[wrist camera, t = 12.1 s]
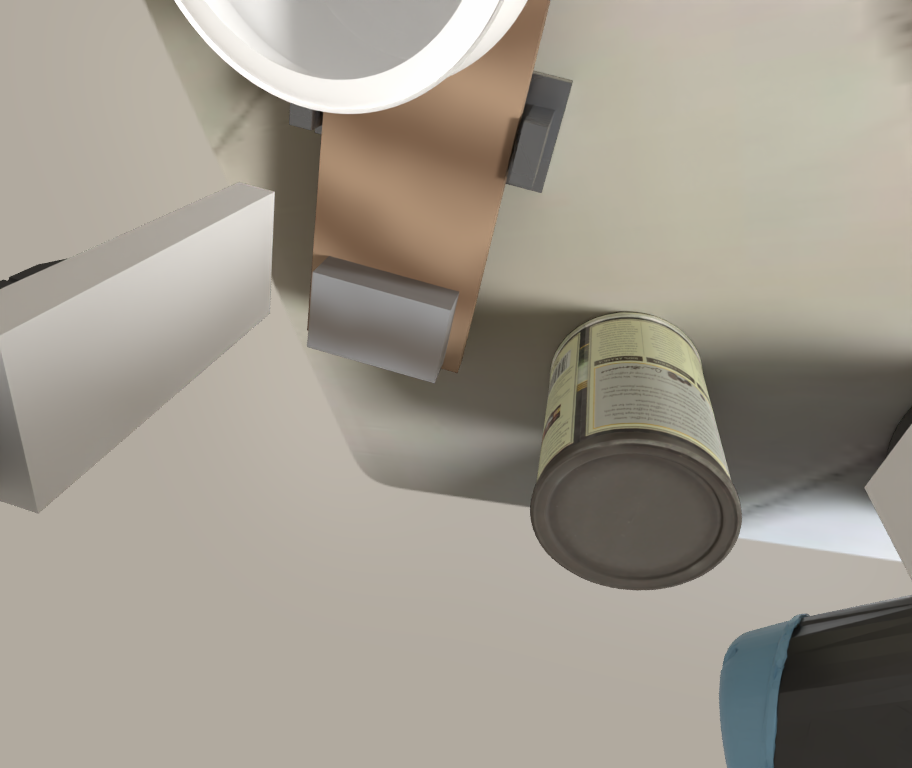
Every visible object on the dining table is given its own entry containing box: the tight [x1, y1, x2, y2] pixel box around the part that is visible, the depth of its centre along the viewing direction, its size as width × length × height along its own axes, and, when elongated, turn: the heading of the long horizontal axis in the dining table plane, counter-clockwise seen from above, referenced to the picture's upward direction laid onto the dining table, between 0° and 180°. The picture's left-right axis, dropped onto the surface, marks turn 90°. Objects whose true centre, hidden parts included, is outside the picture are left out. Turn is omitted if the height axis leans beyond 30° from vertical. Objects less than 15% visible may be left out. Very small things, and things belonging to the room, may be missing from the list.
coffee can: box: [530, 312, 742, 590], centre depth 38 cm, size 10×10×14 cm
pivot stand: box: [289, 71, 573, 193], centre depth 34 cm, size 6×14×6 cm, turn 79°
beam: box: [307, 0, 550, 383], centre depth 32 cm, size 28×10×4 cm, turn 168°
